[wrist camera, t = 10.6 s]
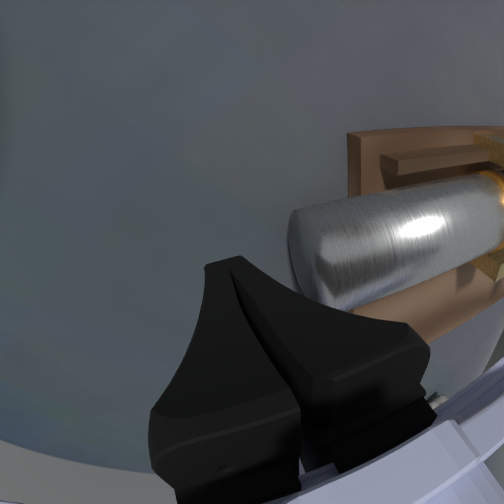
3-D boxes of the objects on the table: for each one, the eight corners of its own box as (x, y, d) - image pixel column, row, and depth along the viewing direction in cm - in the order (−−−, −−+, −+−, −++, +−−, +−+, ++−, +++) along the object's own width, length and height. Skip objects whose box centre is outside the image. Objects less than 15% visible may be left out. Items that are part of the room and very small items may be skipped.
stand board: (502, 287, 25) (516, 299, 23) (337, 374, 21) (351, 397, 19) (537, 128, 16) (557, 136, 14) (347, 133, 13) (378, 143, 11)
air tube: (505, 158, 15) (555, 172, 11) (501, 218, 17) (547, 239, 13) (281, 194, 12) (333, 226, 9) (293, 287, 14) (337, 343, 10)
